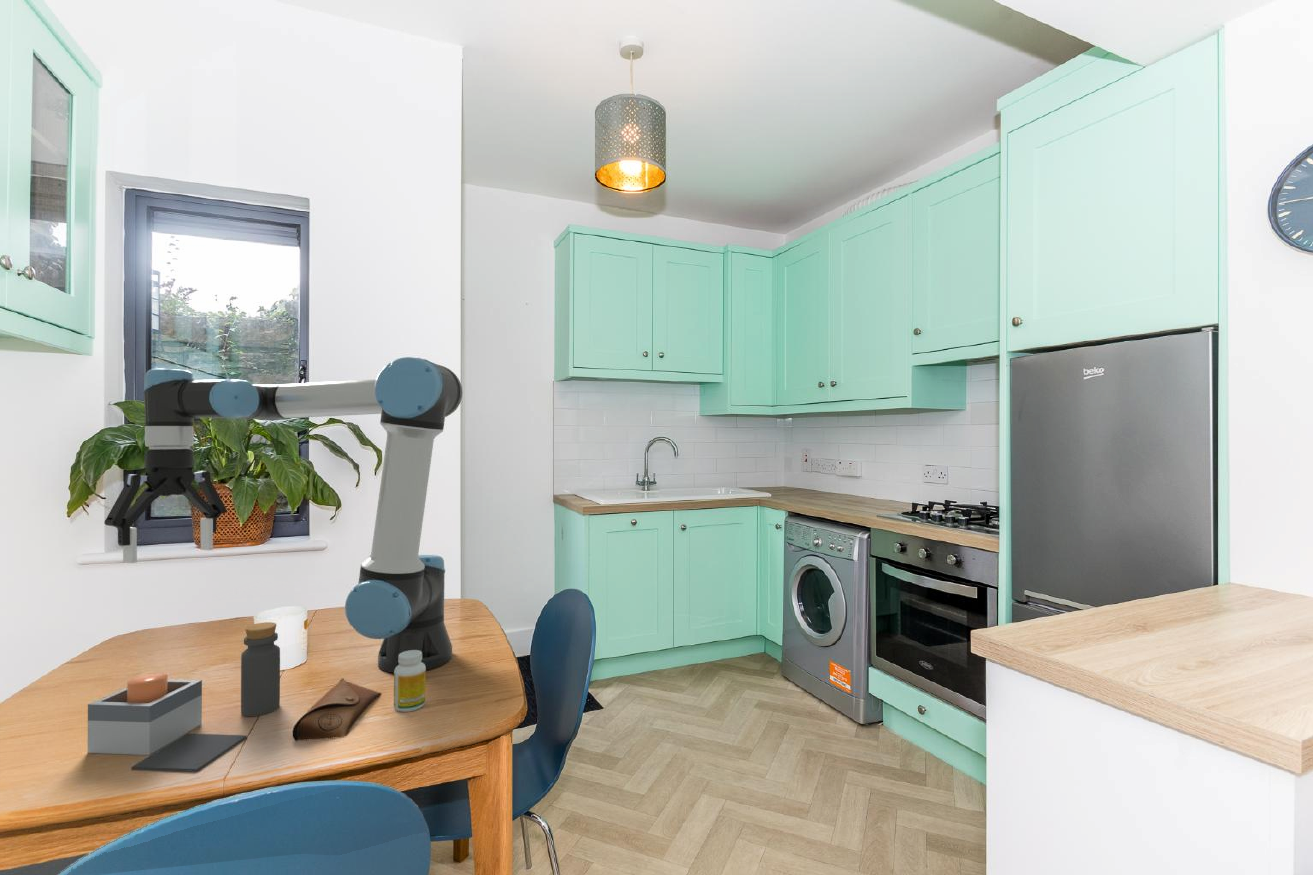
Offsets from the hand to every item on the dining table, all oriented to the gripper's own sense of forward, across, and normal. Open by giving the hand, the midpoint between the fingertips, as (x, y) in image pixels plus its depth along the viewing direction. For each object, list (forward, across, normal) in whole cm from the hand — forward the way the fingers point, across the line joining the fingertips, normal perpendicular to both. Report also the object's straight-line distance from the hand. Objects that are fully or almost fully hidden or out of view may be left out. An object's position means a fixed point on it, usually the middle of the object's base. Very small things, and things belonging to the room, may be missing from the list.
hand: (170, 555), depth 119 cm
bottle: (+26, +1, +27) cm, 37 cm away
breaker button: (+22, +15, +20) cm, 33 cm away
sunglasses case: (+27, -3, +42) cm, 50 cm away
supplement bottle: (+26, -10, +51) cm, 58 cm away
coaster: (+26, +15, +32) cm, 43 cm away
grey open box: (+26, +15, +20) cm, 36 cm away
